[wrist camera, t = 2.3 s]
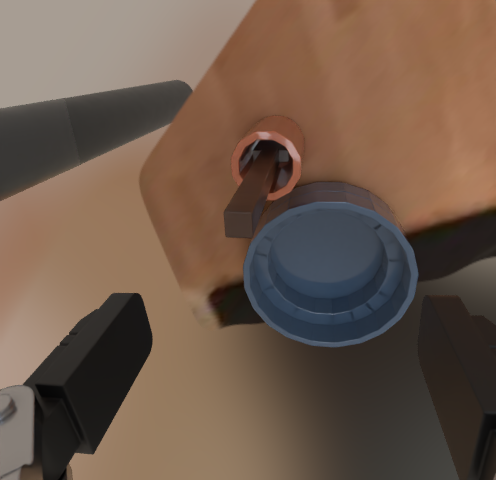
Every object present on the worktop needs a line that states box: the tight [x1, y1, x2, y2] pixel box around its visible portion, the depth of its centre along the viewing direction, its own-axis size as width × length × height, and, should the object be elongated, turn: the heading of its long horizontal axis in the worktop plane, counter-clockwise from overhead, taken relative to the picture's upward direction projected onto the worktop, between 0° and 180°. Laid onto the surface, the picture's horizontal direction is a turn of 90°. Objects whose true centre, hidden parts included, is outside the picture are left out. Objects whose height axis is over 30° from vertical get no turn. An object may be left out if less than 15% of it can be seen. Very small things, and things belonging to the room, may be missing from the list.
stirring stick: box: [224, 140, 290, 238], centre depth 26 cm, size 3×1×18 cm, turn 93°
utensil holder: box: [231, 116, 304, 200], centre depth 31 cm, size 5×5×8 cm
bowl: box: [243, 182, 418, 347], centre depth 36 cm, size 15×15×6 cm
